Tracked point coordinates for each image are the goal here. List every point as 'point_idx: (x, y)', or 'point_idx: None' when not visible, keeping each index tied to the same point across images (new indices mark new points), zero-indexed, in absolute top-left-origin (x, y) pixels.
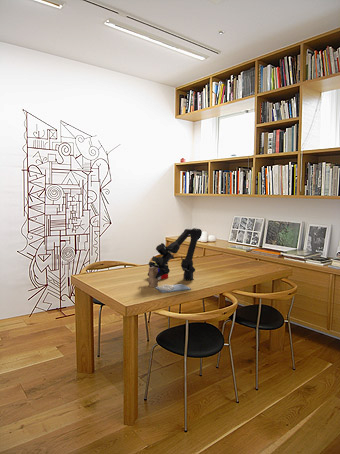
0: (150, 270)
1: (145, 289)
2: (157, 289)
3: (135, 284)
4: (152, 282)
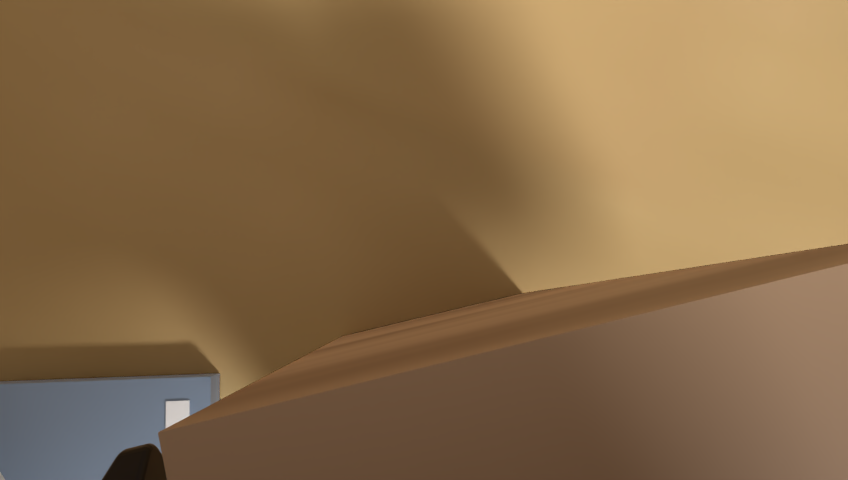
0: (595, 304)
1: (216, 77)
2: (52, 380)
3: (772, 11)
4: (332, 341)
